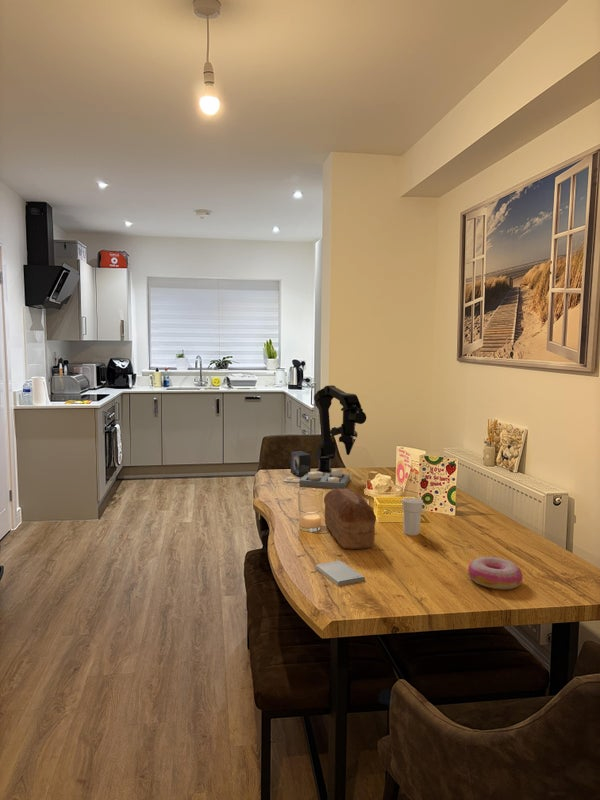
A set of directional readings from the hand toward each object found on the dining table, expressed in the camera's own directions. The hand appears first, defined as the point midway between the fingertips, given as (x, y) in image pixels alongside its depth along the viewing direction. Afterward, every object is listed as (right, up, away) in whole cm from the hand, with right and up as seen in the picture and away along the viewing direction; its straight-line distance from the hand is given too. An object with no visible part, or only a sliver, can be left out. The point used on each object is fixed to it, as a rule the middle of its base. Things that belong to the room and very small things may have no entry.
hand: (348, 454), depth 255 cm
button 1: (-16, -10, -8) cm, 21 cm away
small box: (-22, -11, +12) cm, 28 cm away
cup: (+15, -19, -73) cm, 77 cm away
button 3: (-7, -12, -10) cm, 18 cm away
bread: (-7, -19, -77) cm, 80 cm away
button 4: (-5, -10, -1) cm, 11 cm away
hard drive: (-12, -22, -108) cm, 110 cm away
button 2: (-14, -11, +1) cm, 18 cm away
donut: (+29, -23, -110) cm, 116 cm away
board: (-15, -12, -4) cm, 20 cm away
